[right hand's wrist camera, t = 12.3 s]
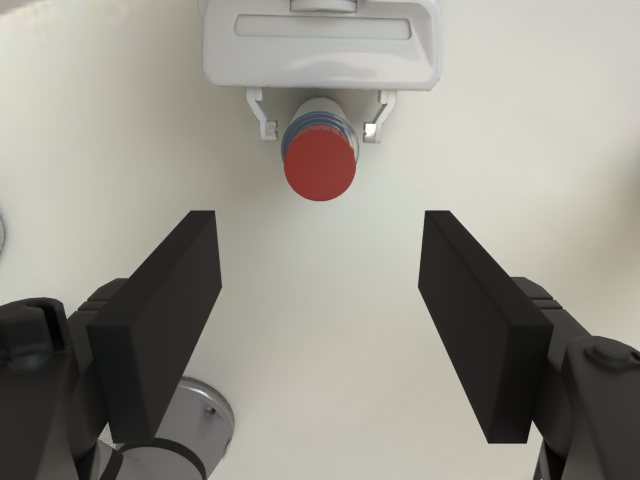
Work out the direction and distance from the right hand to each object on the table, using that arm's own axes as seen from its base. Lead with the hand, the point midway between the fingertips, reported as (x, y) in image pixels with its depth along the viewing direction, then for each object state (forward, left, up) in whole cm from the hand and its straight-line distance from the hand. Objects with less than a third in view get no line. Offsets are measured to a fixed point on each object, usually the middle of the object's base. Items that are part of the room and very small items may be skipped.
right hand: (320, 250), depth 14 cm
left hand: (0, -1, -27) cm, 28 cm away
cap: (0, 0, -13) cm, 13 cm away
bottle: (0, 0, -34) cm, 34 cm away
